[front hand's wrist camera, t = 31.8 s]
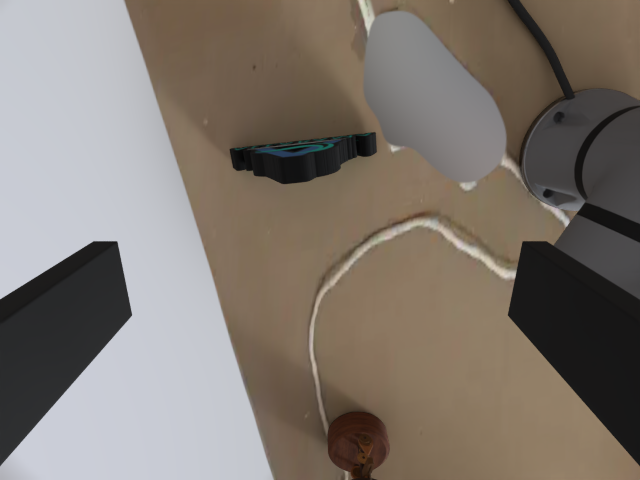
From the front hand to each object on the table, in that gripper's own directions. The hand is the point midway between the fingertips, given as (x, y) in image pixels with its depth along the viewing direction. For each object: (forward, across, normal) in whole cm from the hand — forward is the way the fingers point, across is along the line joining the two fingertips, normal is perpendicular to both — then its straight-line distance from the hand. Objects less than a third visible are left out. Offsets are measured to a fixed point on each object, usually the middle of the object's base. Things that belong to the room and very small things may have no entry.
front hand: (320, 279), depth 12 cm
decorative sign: (+39, -2, -1) cm, 39 cm away
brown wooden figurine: (+39, +7, -51) cm, 65 cm away
